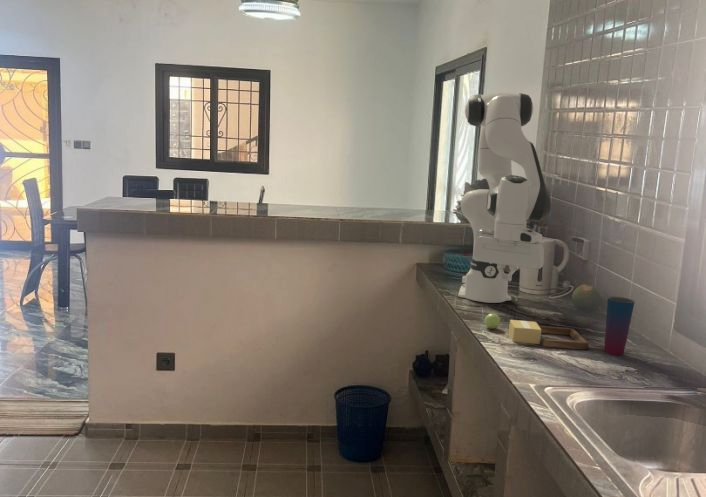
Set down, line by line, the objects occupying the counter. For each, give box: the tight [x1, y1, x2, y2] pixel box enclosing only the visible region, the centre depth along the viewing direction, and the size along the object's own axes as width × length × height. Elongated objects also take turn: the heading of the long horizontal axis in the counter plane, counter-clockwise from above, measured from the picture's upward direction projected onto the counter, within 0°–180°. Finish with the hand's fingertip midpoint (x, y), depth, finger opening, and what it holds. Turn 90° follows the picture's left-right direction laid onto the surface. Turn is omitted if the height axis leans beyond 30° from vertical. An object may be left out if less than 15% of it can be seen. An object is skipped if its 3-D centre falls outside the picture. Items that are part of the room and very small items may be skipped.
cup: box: [603, 296, 636, 356], centre depth 176 cm, size 7×7×15 cm
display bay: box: [538, 325, 590, 350], centre depth 185 cm, size 14×12×2 cm
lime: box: [484, 313, 501, 330], centre depth 192 cm, size 5×5×5 cm
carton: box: [508, 319, 542, 345], centre depth 184 cm, size 8×8×4 cm
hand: (505, 280), depth 186 cm, fingers closed
